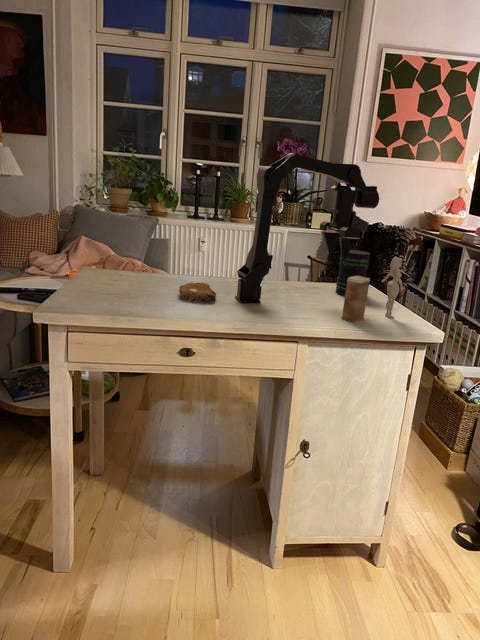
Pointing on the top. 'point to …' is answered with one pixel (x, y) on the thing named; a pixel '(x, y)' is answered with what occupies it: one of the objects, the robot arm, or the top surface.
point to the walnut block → (355, 298)
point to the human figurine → (393, 284)
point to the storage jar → (351, 268)
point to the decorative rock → (196, 292)
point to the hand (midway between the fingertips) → (337, 257)
